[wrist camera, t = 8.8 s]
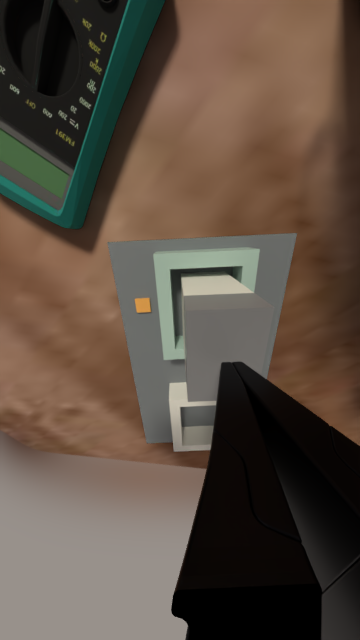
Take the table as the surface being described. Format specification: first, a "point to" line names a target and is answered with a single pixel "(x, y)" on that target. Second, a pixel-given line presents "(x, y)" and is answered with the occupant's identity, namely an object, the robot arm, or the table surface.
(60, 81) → the digital multimeter
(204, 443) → the frame
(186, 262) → the port
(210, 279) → the plug
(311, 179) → the table surface
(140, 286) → the panel board
